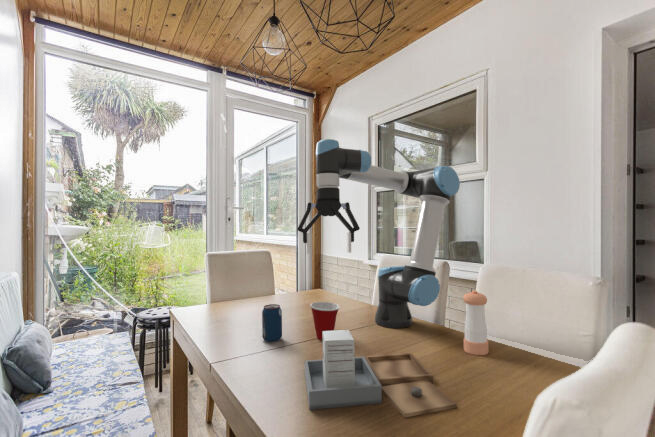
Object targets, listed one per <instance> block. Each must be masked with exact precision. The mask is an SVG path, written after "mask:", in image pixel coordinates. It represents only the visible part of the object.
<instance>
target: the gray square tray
mask: <svg viewBox="0 0 655 437" xmlns="http://www.w3.org/2000/svg"><path fill="white" fill-rule="evenodd" d="M304 381H305V387H306V393H307V394H306V396H307V402H308V403H307V404H308V408H309V410H310V411H311V410H321V409H322V410H323V409H334V408H335V409H336V408H346V407H356V406H358V407H359V406H366V405H378V404H379V405H380V404H382V403H383V402H382V401H383V399H382V398H383V397H382V396H383V395H382V394H383V392H382V386H381V384H380V382H379V381H378V379H377V377H376V376H375V374H374V373H373V371H372V369H371V368H370V366H369V364H368V363H367V361H366V359H365V358H364V356H355V386H351V387H338V388H326V389H325V384H324V380H323V358H322V359H310V360H309V359H308V360H304Z"/></svg>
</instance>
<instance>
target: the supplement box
mask: <svg viewBox="0 0 655 437" xmlns="http://www.w3.org/2000/svg"><path fill="white" fill-rule="evenodd" d="M322 337H323V340H322V359H323V380H324V384H325V389H326V388H338V387H351V386H355V357H356V356H355V339H354V337H353V335H352V333H351V331H350V329H339V330H335V329H334V331H322Z"/></svg>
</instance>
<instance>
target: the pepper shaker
mask: <svg viewBox="0 0 655 437" xmlns="http://www.w3.org/2000/svg"><path fill="white" fill-rule="evenodd" d="M462 299H463V302H464V303H465V321H464V322H465V323H464V327H463V329H464V337H463V350H464V352H465V353H468V354H471V355H476V356H487V355H488V354H489V352H490V350H489V348H490V347H489V340H488V328H487V322H486V316H485V315H486V313H485V312H486V311H485V305H486V304H487V303H488V298H487V296H486V295H484V294H482V293H480V292H478V290H475V289H474V290H472V291H471V292H467V293H465V294H464V295H463V298H462Z"/></svg>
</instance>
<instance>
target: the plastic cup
mask: <svg viewBox="0 0 655 437" xmlns="http://www.w3.org/2000/svg"><path fill="white" fill-rule="evenodd" d="M310 308H311V314H312V316H313V324H314V325H313V326H314V329H315V330H314V331H315V336H316V339H317V340H318V341H319V340H320V341H323V337H322V331H334V330H335V326H336V320H337V315H338V312H339V309H341V306H340V304H338V303H336V302H335V303H334V302H330V301H314V302H312V303H310Z"/></svg>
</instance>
